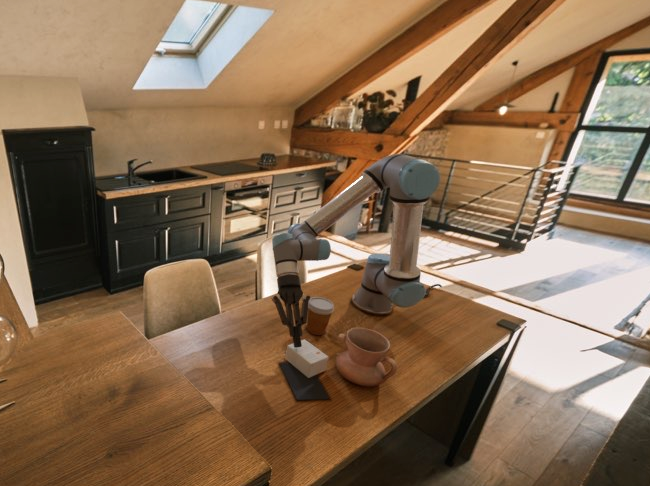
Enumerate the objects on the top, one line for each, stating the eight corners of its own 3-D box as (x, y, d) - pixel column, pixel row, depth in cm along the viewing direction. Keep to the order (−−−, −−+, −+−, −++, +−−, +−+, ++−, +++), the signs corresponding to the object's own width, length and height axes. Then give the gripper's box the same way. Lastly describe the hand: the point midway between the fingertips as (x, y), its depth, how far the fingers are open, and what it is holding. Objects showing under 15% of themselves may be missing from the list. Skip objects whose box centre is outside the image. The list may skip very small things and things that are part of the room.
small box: (284, 358, 128) (307, 378, 119) (287, 344, 126) (311, 364, 117) (302, 352, 131) (326, 371, 123) (304, 338, 129) (329, 357, 121)
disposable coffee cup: (325, 324, 148) (331, 297, 143) (331, 339, 139) (338, 311, 134) (300, 322, 148) (305, 295, 144) (305, 336, 140) (310, 309, 135)
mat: (279, 363, 126) (279, 362, 126) (308, 362, 127) (308, 361, 127) (297, 400, 111) (297, 399, 111) (329, 399, 112) (330, 398, 112)
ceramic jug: (321, 369, 124) (330, 333, 118) (344, 352, 132) (353, 317, 127) (377, 404, 111) (389, 365, 105) (398, 382, 119) (411, 345, 114)
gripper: (302, 279, 136) (312, 348, 127) (266, 280, 135) (274, 348, 126) (310, 273, 129) (322, 345, 120) (272, 273, 128) (282, 345, 119)
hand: (297, 346), depth 123 cm, fingers closed
